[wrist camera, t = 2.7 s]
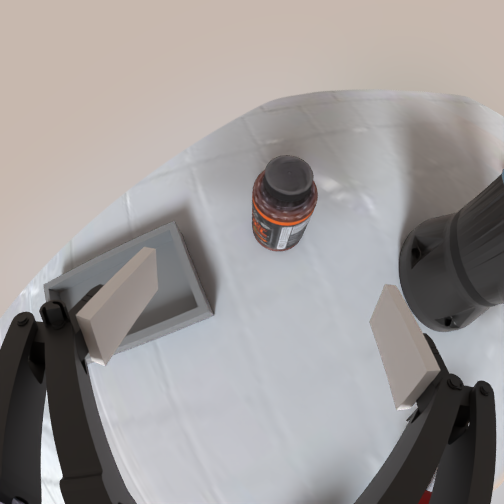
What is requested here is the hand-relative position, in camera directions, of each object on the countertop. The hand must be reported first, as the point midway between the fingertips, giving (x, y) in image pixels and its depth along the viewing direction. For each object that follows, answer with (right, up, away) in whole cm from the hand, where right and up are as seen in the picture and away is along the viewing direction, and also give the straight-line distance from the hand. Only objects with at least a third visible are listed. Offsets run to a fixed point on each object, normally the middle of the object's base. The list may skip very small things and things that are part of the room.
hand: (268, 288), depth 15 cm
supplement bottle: (+2, +5, +17) cm, 18 cm away
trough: (-16, -4, +14) cm, 21 cm away
